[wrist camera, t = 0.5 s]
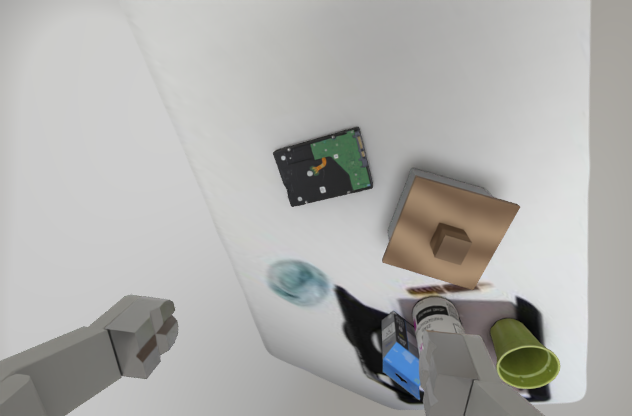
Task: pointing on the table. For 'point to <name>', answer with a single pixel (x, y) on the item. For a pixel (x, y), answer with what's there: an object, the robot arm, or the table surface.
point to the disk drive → (324, 167)
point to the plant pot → (522, 356)
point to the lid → (448, 232)
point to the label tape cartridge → (401, 352)
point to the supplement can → (435, 318)
